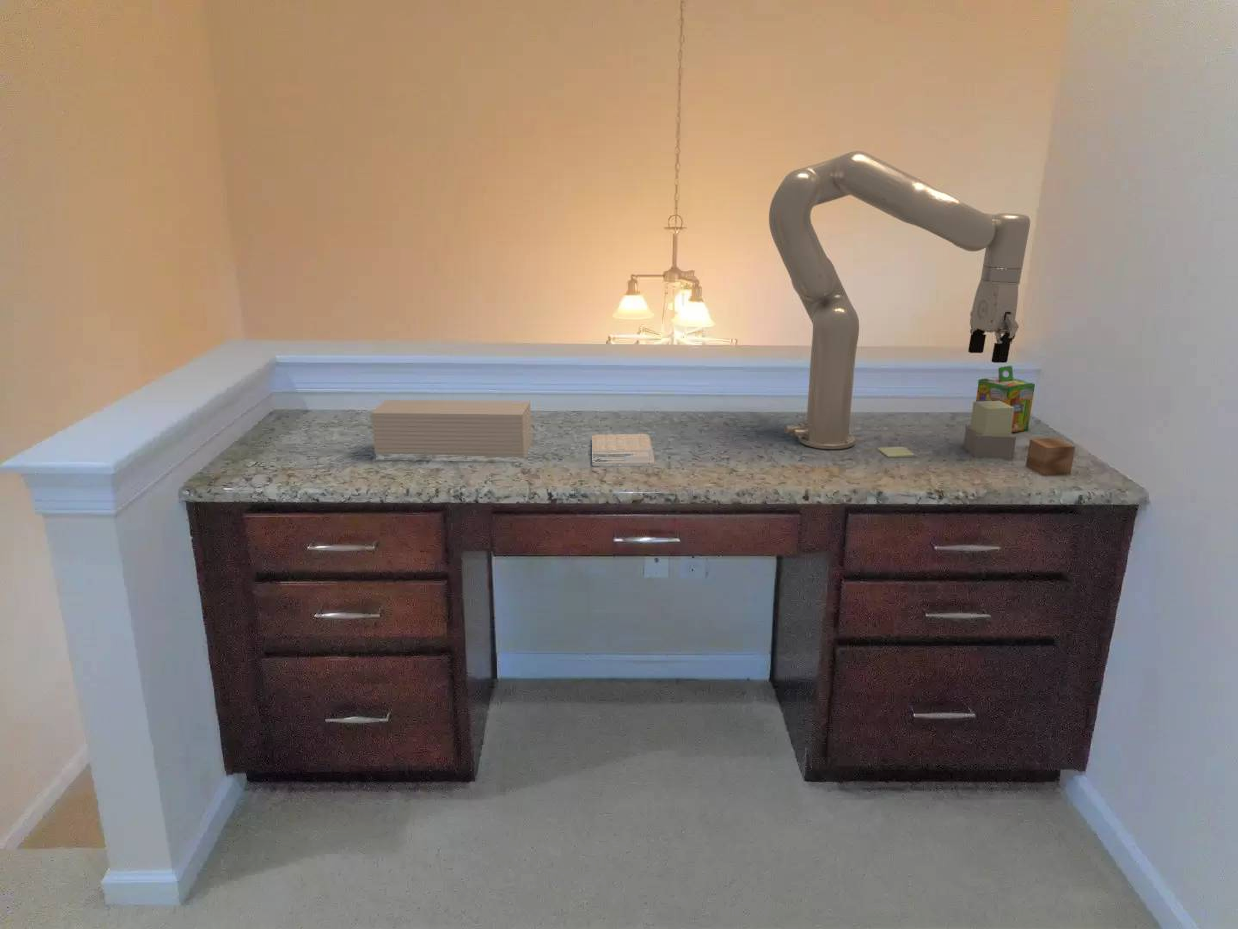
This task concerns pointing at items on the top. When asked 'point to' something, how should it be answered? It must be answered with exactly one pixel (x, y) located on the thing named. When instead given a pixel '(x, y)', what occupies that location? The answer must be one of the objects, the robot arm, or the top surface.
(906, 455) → the tile
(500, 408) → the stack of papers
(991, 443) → the base block
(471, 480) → the top surface
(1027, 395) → the chalk box
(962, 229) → the robot arm
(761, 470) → the top surface
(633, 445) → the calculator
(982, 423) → the sage block
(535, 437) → the top surface
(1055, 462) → the walnut block
